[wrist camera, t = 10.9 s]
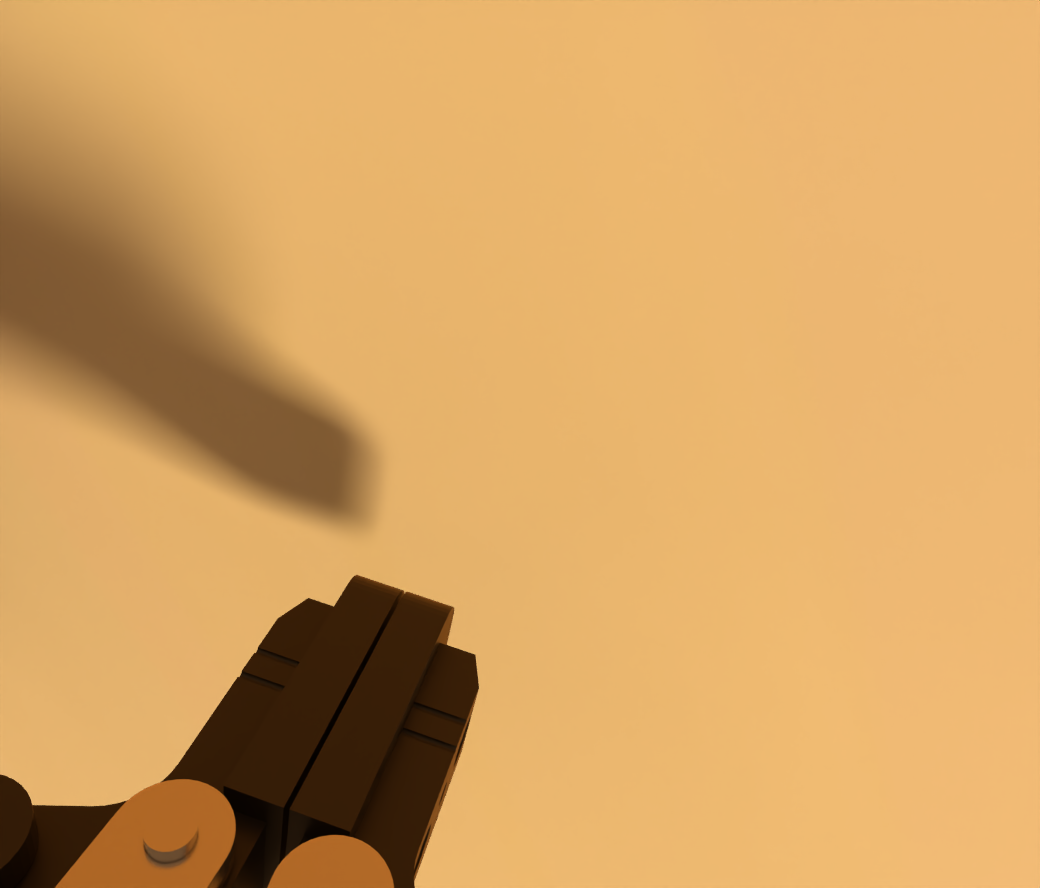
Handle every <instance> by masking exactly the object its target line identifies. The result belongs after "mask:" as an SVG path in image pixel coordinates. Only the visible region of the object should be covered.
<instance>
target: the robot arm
mask: <svg viewBox="0 0 1040 888" xmlns="http://www.w3.org/2000/svg"><path fill="white" fill-rule="evenodd" d="M453 614H454V607H451V606H448V605H445V604H442V603H439V602H436V601H433V600H430V599H428V598H425V597H422V596H419V595H416V594H413V593H410V592H406V593H405V594H404V591H403V590H400V589H397V588H394V587H391V586H388V585H385V584H382V583H379V582H376V581H373V580H370V579H367V578H365V577H362V576H359V575H355V576H354V577H353V578H352V579H351V580H350V582H349V583H348V585H347V586H346V588H345V590H344V591H343V593H342V595H341V596H340V598H339V599H338V601H337V603H336V604H335V606H334V607H333V606H330V605H327V604H324V603H321V602H319V601H316V600H313V599H310V598H308V599H306V600H305V601H303V602H302V603H300V604H299V605H297V606H296V607H294V608H293V609H291V610H290V611H288V612H287V613H285V614H284V615H282V616H281V617H279V618H278V619H277V620H276V622H275V623H274V625H273V626H272V628H271V629H270V631H269V632H268V634H267V635H266V637H265V638H264V639H263V641H262V642H261V644H260V645H259V647H258V650H257V652H256V653H254V654H253V656H252V657H251V658H250V660H249V661H248V663H247V664H246V666H245V667H244V669H243V670H242V673H241V675H240V677H237V679H236V680H235V682H234V683H233V685H232V686H231V688H230V689H229V691H228V692H227V693H226V695H225V696H224V698H223V699H222V701H221V702H220V704H219V705H218V707H217V708H216V710H215V711H214V712H213V714H212V715H211V717H210V718H209V720H208V721H207V723H206V724H205V726H204V727H203V729H202V730H201V731H200V733H199V734H198V736H197V737H196V739H195V740H194V742H193V743H192V745H191V746H190V748H189V749H188V750H187V752H186V753H185V755H184V756H183V758H182V759H181V761H180V762H179V764H178V765H177V766H176V767H175V769H174V770H173V771H172V772H171V773H170V774H169V775H168V776H167V777H166V778H165V779H164V780H163V781H162V782H160V783H157V784H154V785H152V786H150V787H147V788H145V789H144V790H142V791H140V792H138V793H137V794H135V795H134V796H133V797H131V798H130V799H129V800H127V801H124V802H121V803H117V804H112V805H106V806H45V805H32V803H31V799H30V797H29V795H28V793H27V791H26V790H25V789H24V788H23V787H22V785H20V784H19V783H18V782H16V781H15V780H13V779H11V778H9V777H7V776H4V775H0V888H415V886H414V880H415V878H416V875H417V872H418V869H419V867H420V864H421V861H422V859H423V856H424V853H425V850H426V848H427V845H428V842H429V839H430V837H431V834H432V831H433V828H434V826H435V823H436V820H437V817H438V814H439V811H440V809H441V806H442V804H443V801H444V798H445V795H446V793H447V790H448V787H449V784H450V782H451V779H452V776H453V774H454V771H455V768H456V765H457V763H458V760H459V757H460V754H461V752H462V748H463V744H464V741H465V737H466V733H467V730H468V726H469V722H470V718H471V715H472V711H473V707H474V704H475V700H476V696H477V693H478V689H479V684H478V675H477V666H476V657H475V655H474V654H471V653H468V652H466V651H463V650H460V649H457V648H454V647H451V646H448V645H447V641H448V636H449V632H450V628H451V623H452V619H453Z"/></svg>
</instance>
